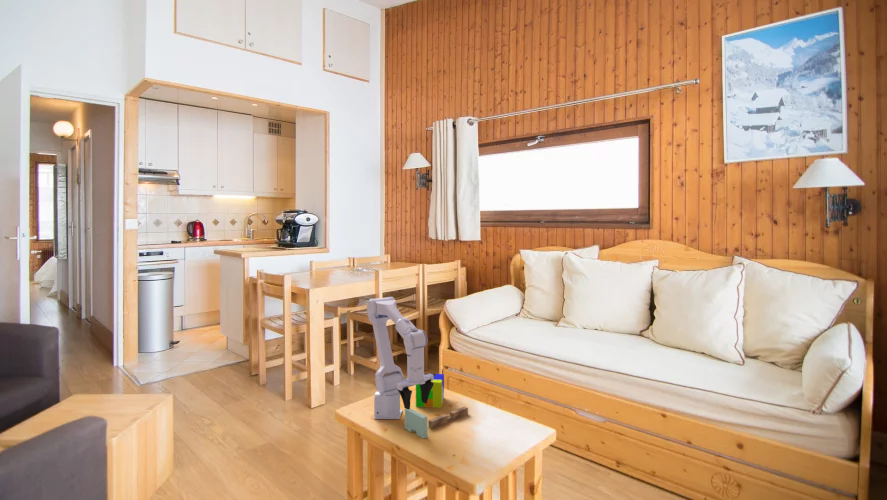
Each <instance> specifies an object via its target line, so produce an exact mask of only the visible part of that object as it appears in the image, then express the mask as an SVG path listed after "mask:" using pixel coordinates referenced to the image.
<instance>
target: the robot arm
mask: <svg viewBox="0 0 887 500" xmlns="http://www.w3.org/2000/svg"><path fill="white" fill-rule="evenodd" d="M397 306H398V305H397V300H396V299H395V298H394V297H393V296H387V297H380V298H379V297H377V298H369V300H368V301H367V304H366V312H367V316H368V321H369V323H372V329H373V332H374V338H375V342H376V343H375V344H376V349H377V355H378V359H379V364H380V367H379V368H378V370H377V371H376V372H375V374H374V376H375V378H374V379H375V381H374V382H375V388H376V390H377V391H375V394H374V401H373V402H374V413H373V414H374V417H373V419H376V420H379V419H380V420H400V419H401V415H402V413H403V409H402V408H401V400H402V403H403V406H404V409H411V398H412V394H413V390H410V387H414V386H416V385H417V384H420V388H421V400H422V402H423V403H427V401H428V397H429V393H430V391H431V389H432V387H433V385H434V383H433V382H431V381H433V380H434V375H432V374H433V373H425V347H426V346H427V345H428V342H429V339H428V336H427V333H426V332H425V330H424V329H419V328H417V326H415V324H414V323H413V322H412V321H411V320H410V319H409V318H408V317H404V316H403V315H402V313H401V312H400V310H399V309H398V307H397ZM389 320H391V321H392V322H393V323H394V325H395V330H396V332H397V333H399V335H400V336H401V338H402V339H403V344H404V345H403V346H404V347H405V354H406V355H407V356H406V358H407V361H406V362H407V365H406V367H407V368H406V369H407V370H406V372H407V373H406V375H407V377H406V378H405V376H404V373H403V371H402V368H401V367H400V366H398V365H396V364H395V362H394V356H393V352H392V347H391V342H390V337H389V336H390V335H389V331H388V327H387V323H388V321H389ZM424 374H426V375H424Z"/></svg>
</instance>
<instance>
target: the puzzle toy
mask: <svg viewBox="0 0 887 500" xmlns="http://www.w3.org/2000/svg"><path fill="white" fill-rule="evenodd" d="M426 374H427V373H424V375H426ZM431 374H432V375H434V380H433V381H431V382H433V383H434V385H433V387H432V389H431V391H430V393H429V397H428V401H427V403H423V402H422V400H421V388H420V384H417V385H415V407H417V408H419V407H420V408H440V409H441V408H442V407H443V403H444V399H445V386H444V385H445V375H444V373H431Z"/></svg>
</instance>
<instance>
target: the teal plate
mask: <svg viewBox="0 0 887 500" xmlns="http://www.w3.org/2000/svg"><path fill="white" fill-rule="evenodd" d="M404 430H406V431H409V432H410V433H414V432H416V436H418V437H419V438H422V439H425V438H428V416H427V415H424V414H422V413H421V412H419V411H416V410H414V409H412V408H410V409H406V408H404Z"/></svg>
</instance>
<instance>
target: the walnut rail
mask: <svg viewBox="0 0 887 500" xmlns="http://www.w3.org/2000/svg"><path fill="white" fill-rule="evenodd" d="M467 415H469V407H468V406H465V405H464V406H462V407H459V408H456V409H454V410H451V411H449V415H447V414H445V413H444V414H441V415H438V416H436V417H433V418H431V419H427V425H428V429H431V430H433V429H435V428H438V427H440V426H443V425H446V424H448V423H450V422H453V421H455V420H458V419H460V418H462V417H465V416H467Z"/></svg>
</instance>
